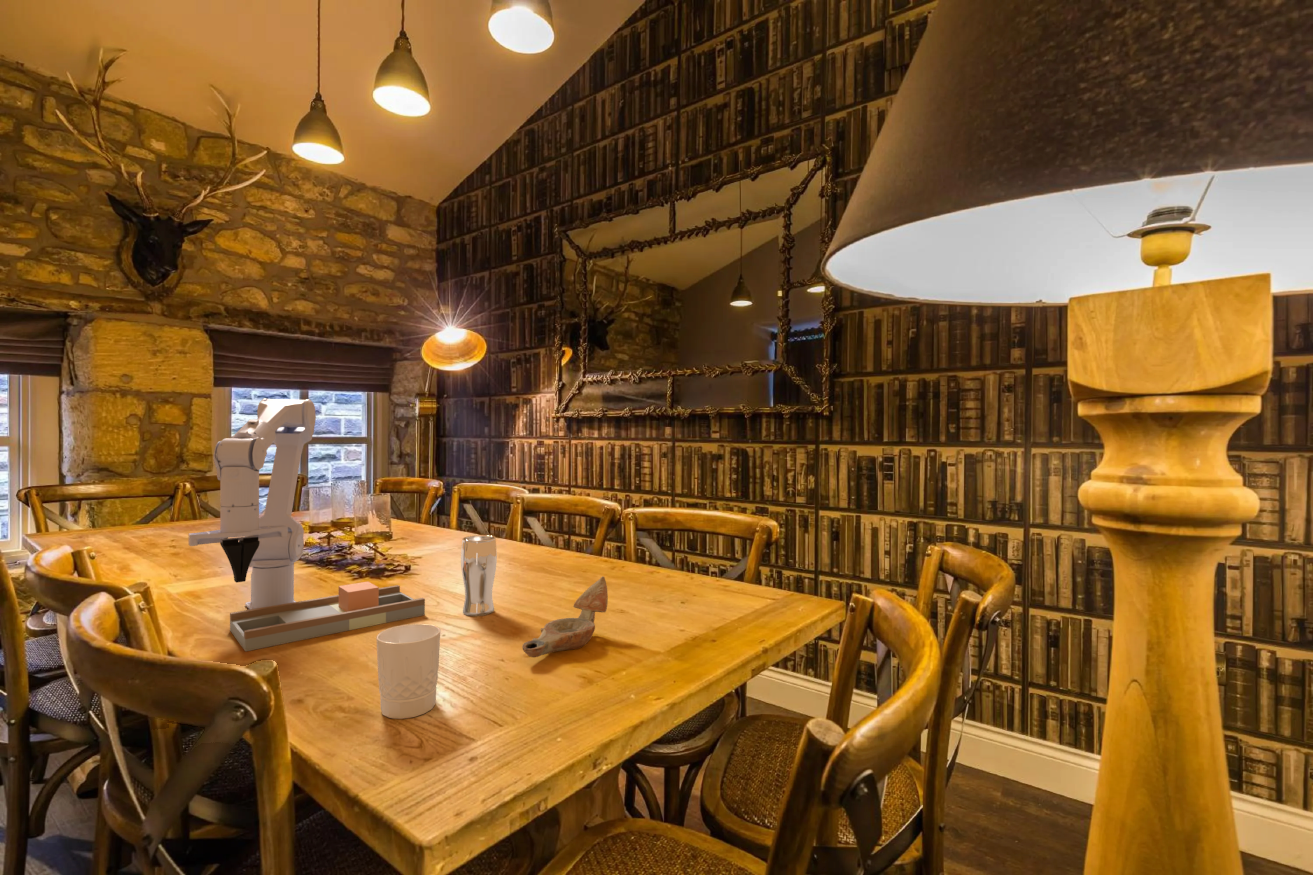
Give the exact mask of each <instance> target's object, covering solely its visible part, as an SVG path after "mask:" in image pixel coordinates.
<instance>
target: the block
mask: <svg viewBox="0 0 1313 875" xmlns="http://www.w3.org/2000/svg"><path fill="white" fill-rule="evenodd" d="M379 588H380V587H379V586H377V585H375V584H374V583H371V582H370V581H364V582H363V581H362V582H357V583H351V584H349V583H348V584H344V585H338V595H339V607H340V608H341V609H343V610H344V611H346V612H348V611H354V610H359V609H365V608H370V607H375V606H379Z"/></svg>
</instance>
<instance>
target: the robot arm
mask: <svg viewBox="0 0 1313 875" xmlns="http://www.w3.org/2000/svg"><path fill="white" fill-rule="evenodd" d="M256 412H257V414H256V415H257V419H254V418H253V419H248V421H247V422H246V423H244V424H243V425H242V427H240V429H238V430H237V432H235V434H234V435H233V436H231V437H230V438H229V437H228V438H226V437H225V438H223V439H222V440H219V441H218V442H217V443H216V444H215V447H214V450H213V451H214V452H213V462H214V466H215V468H216V477H217V480H218V481H219V482H220V484H219V485H220V488H219V490H220V492H219V493H220V496H219V497H220V498H219V499H220V501H219V502H220V506H219V507H220V509H219V510H220V515H219V516H220V521H219V523H220V529H216V530H208V531H207V530H206V531H201V532H190V533H188V546H190V547H195V546H200V545H209V544H210V545H211V544H220V546H221V548H222V550H223V552H224V554H225V556H226V557H227V560H228V562H229V564H230V566H231V570H232V575H233V580H234V582H235V583H236V584H237V583H245V582H246V580H247V574H248V572H249V568H252V571H251V573H250V601H247V602H245V603H244V605H245V606H246V607H247V609H248V610H250V609H257V608H263V607H269V606H275V605H281V604H287V603H293V602H297V601H296V600H295V596H294V594H295V589H294V588H295V581H294V580H295V578H294V576H295V565H294V564H295V563H296V562H298V561H299V560H300V559H301V557H302V555H303V553H304V547H305V546H304V545H305V543H304V542H305V540H304V534H305V533H304V532H305V530H304V527H303V526H302V524H301V523H300V522H299V521H298V520H296V519H295V518H293V517H292V514H293V513H292V512H293V506H294V501H295V496H296V495H295V494H296V489H297V483H298V482H297V481H298V476H299V475H298V474H299V469H300V463H301V458H302V453H303V450H304V446H305V444H307V443H309V442H311V441H312V439H313V435H314V432H315V426H316V419H317V418H316V416H317V414H316V406H315V403H314V402H313V401H312V399H309V398H307V399H284V398H283V399H278V398H277V399H276V398H275V399H274V398H273V399H272V398H267V397H266V398H262V399H261V401H259V403H258V405H257V410H256ZM272 444H274V445H275V447H276V448H275V455H274V459H273V465H272V470H271V476H270V482H269V486H268V490H267V497H266V502H265V509H264V514H263V515H262V516H260V470H261V469H263V467H264V464H265V460H266V457H267V455H268V451H267V450H268V449H269V448H270V446H271V445H272Z"/></svg>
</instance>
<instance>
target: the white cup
mask: <svg viewBox="0 0 1313 875" xmlns="http://www.w3.org/2000/svg"><path fill="white" fill-rule="evenodd" d="M375 639H376V654H377V660H376V661H377V676H378V677H377V678H378V680H377V681H378V691H379V694H380V696H379V697H380V698H379V699H380V711H381V714H382V715H383V716H385V717H387V718H389V719H395V720H396V719H398V720H402V719H410V718H415V717H419V716H422V715H424V714H426V713H428V712H429V711H431V710H432V709H433V708H434V707H435V705H436V703H437V685H438V679H439V666H440V664H439V663H440V647H441V646H440V645H441V644H440V643H441V628H440V627H438V626H436V625H433V624H428V623H411V624H410V623H409V624H401V625H397V626H392V627H388V628H387V629H384V630H381V631H380V632H379V633H378V634H377V635H376V638H375Z"/></svg>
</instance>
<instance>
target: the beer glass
mask: <svg viewBox="0 0 1313 875" xmlns="http://www.w3.org/2000/svg"><path fill="white" fill-rule="evenodd" d="M461 539H462V540H461V549H460V551H461V552H460V567H461V575H462V581H463V587H464V602H463V608H462V613H463V615H465V616H469V617H481V616H482V617H483V616H487V615H490V614H492V613H494V611H495V606H494V600H493V589H494V581H495V577H496V576H495V575H496V570H497V554H498V552H497V551H498V550H497V538H496V536H495V535H488V534H485V535H483V534H482V535H481V534H480V535H476V534H475V535H470V536H469V535H468V536H464V537H462V538H461Z"/></svg>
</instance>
